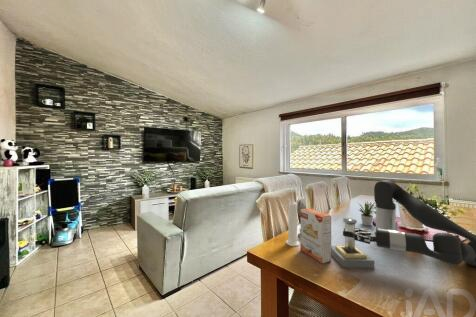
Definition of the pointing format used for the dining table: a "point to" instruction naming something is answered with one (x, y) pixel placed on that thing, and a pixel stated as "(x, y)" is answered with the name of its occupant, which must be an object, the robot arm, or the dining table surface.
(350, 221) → the shaft
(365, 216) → the house plant
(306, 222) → the cracker box
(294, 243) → the candle
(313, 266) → the dining table surface
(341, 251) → the grey square socket base
